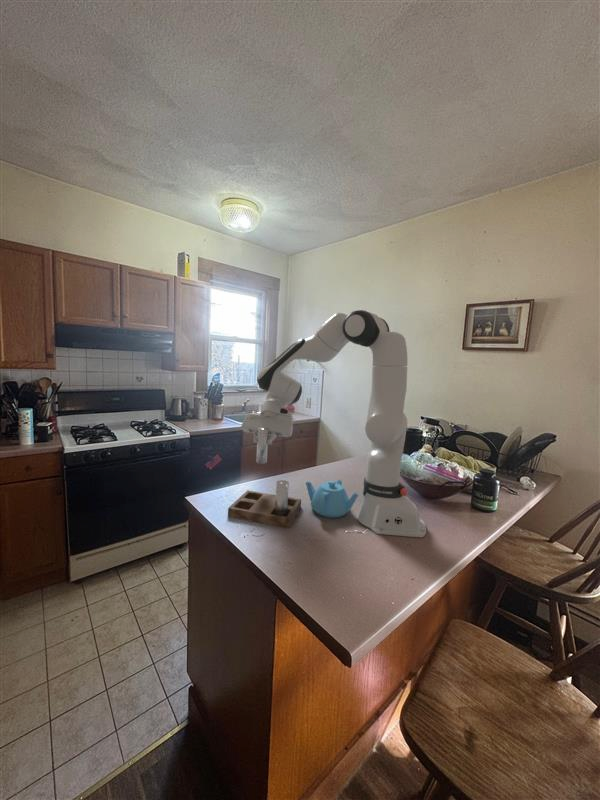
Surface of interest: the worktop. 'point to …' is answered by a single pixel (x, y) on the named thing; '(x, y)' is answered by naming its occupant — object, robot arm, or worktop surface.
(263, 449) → the pin
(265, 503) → the socket board
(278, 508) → the pin
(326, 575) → the worktop surface
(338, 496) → the teapot
